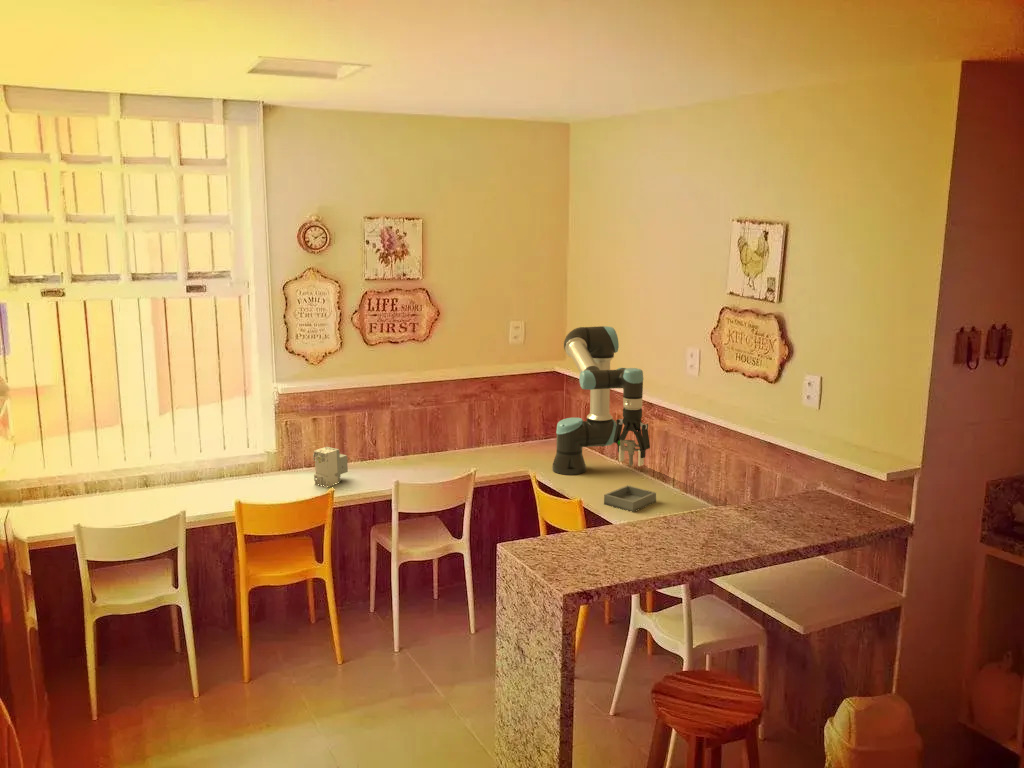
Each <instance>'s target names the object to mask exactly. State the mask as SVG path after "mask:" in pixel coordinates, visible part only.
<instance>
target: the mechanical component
mask: <svg viewBox="0 0 1024 768" xmlns="http://www.w3.org/2000/svg"><path fill="white" fill-rule="evenodd" d="M625 444H626V445H625ZM618 445H620V449H621V450H622V451H624V452H627V454H628V465H629V466H630V467H632V466H633V465H634V455H635V452H638V450H640V447H639V444H638V443H637V442H636V441H635V439H625V440H620V441H618ZM618 445H617V446H618ZM624 445H625V446H624Z"/></svg>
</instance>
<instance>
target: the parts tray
mask: <svg viewBox="0 0 1024 768" xmlns="http://www.w3.org/2000/svg"><path fill="white" fill-rule="evenodd" d="M652 503H653V504H655V503H657V492H655V491H651V490H647V489H644V488H640V487H637V486H636V487H635V486H631V485H628V484H627V485H625V486H622V487H619V488H618V489H614V490H612V491H610V492H608V493H605V494H604V496H603V505H605V506H608V507H612V506H613V508H616V507H617V508H616V509H619V508H620V510H623V509H624V511H626V510H628V511H627V512H630V511H632V512H631V513H635V512H637V511H639V510H641V508H642V509H644V508H646V507H648V506H651V505H652ZM650 504H651V505H650ZM645 506H646V507H645ZM643 507H644V508H643ZM638 509H639V510H638ZM636 510H637V511H636ZM634 511H635V512H634Z"/></svg>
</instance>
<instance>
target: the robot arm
mask: <svg viewBox="0 0 1024 768" xmlns="http://www.w3.org/2000/svg"><path fill="white" fill-rule="evenodd" d="M619 346H620V345H619V338H618V334H617V331H616V329H614V327H613V326H604V325H602V326H600V325H599V326H579V327H576V328H573V329H572V330H571V331H569V332H568V333H567V335H566V336H565V338H564V341H563V348H564V352H565V353H566V355H567V356H568V357H570V358H571V359H572V361H573V363H574V364H575V366H576V368H577V370H578V371H579V381H578V383H579V385H580V388H581V389H582V390H588V391H589V390H590V394H589V395H590V399H589V404H590V405H589V406H590V407H589V408H590V409H589V413H588V414H587V416H586V420H585V421H584V420H583V418H581V417H567V418H564V419H561V420H559V421H558V422H557V424H556V431H555V433H556V446H555V447H556V448H555V449H556V454H555V457H554V459H553V463H552V469H551V470H552V472H554V473H557V474H559V473H560V474H559V475H567V476H568V475H570V476H572V475H573V476H574V475H575V476H576V475H581V474H583V473H585V472H587V465H586V462H585V458H584V455H583V448H592V447H593V448H594V447H595V448H596V447H608V446H611V445H613V444H616V445H617V453H618V462H624V461H625V451H622V450H621V449H620V445H618V441H620V440H626V438H627V435H628V433H629V432H633V435H635V438H636V442H637V445H639V447H638V448H639V449H640V450H638V451H637V452H638V453H637V455H638V456H637V466H638V467H642V466H644V463H645V462H644V460H645V458H646V451H647V450H648V449H649V450H650V449H651V443H650V437H649V429H648V428H649V424H648V423H644V422H642V418H643V393H644V392H643V388H644V371H643V370H642V369H641V368H638V367H628V368H626V367H619V368H616V369H611V361H612V360H613V359H614V357H615V354H616V353H618V352H619ZM611 389H613V390H614V389H623V390H622V392H623V394H622V396H623V397H622V406H623V408H622V418H618V419H616V420H614V418H613V417H614V416H612V414H610V397H611V395H610V393H611ZM623 426H624V427H623ZM624 446H626V445H625V444H624Z"/></svg>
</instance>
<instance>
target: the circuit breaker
mask: <svg viewBox="0 0 1024 768" xmlns="http://www.w3.org/2000/svg"><path fill="white" fill-rule="evenodd" d="M312 460H313V461H314V467H315V471H314V472H315V473H314V474H313V480H314V485H315V484H316V485H315V486H318V484H319V485H322V486H323V485H324V486H326V487H327V486H331V487H333V486H334V485H333V484H335V483H338V482H340V481H341V482H342V480H341V476H342V475H343V474H346V473H348V472H349V471H348V467H349V466H348V463H349V460H348V455H347V454H344V453H343V454H342V453H340V449H339V448H334V447H331V446H325V447H320V448H318V449H315V450H313V454H312ZM332 485H333V486H332ZM322 486H321V487H322ZM326 487H325V488H326Z"/></svg>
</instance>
